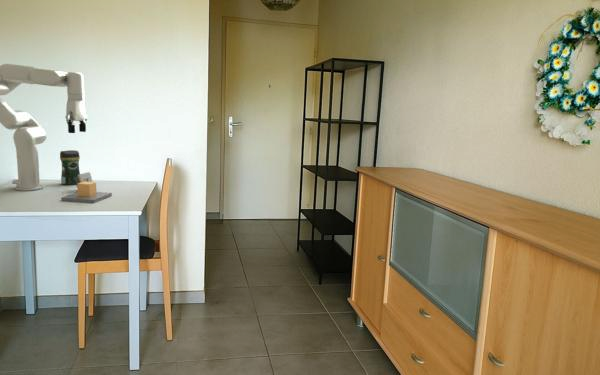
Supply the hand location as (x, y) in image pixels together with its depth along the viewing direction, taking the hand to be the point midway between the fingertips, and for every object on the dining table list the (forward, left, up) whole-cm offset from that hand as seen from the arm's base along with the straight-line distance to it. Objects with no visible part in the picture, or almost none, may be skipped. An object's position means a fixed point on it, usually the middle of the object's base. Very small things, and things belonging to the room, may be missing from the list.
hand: (77, 132), depth 235 cm
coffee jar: (-15, +17, -31) cm, 38 cm away
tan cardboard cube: (+12, -13, -29) cm, 34 cm away
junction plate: (+12, -13, -30) cm, 35 cm away
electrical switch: (+1, +3, -31) cm, 31 cm away
